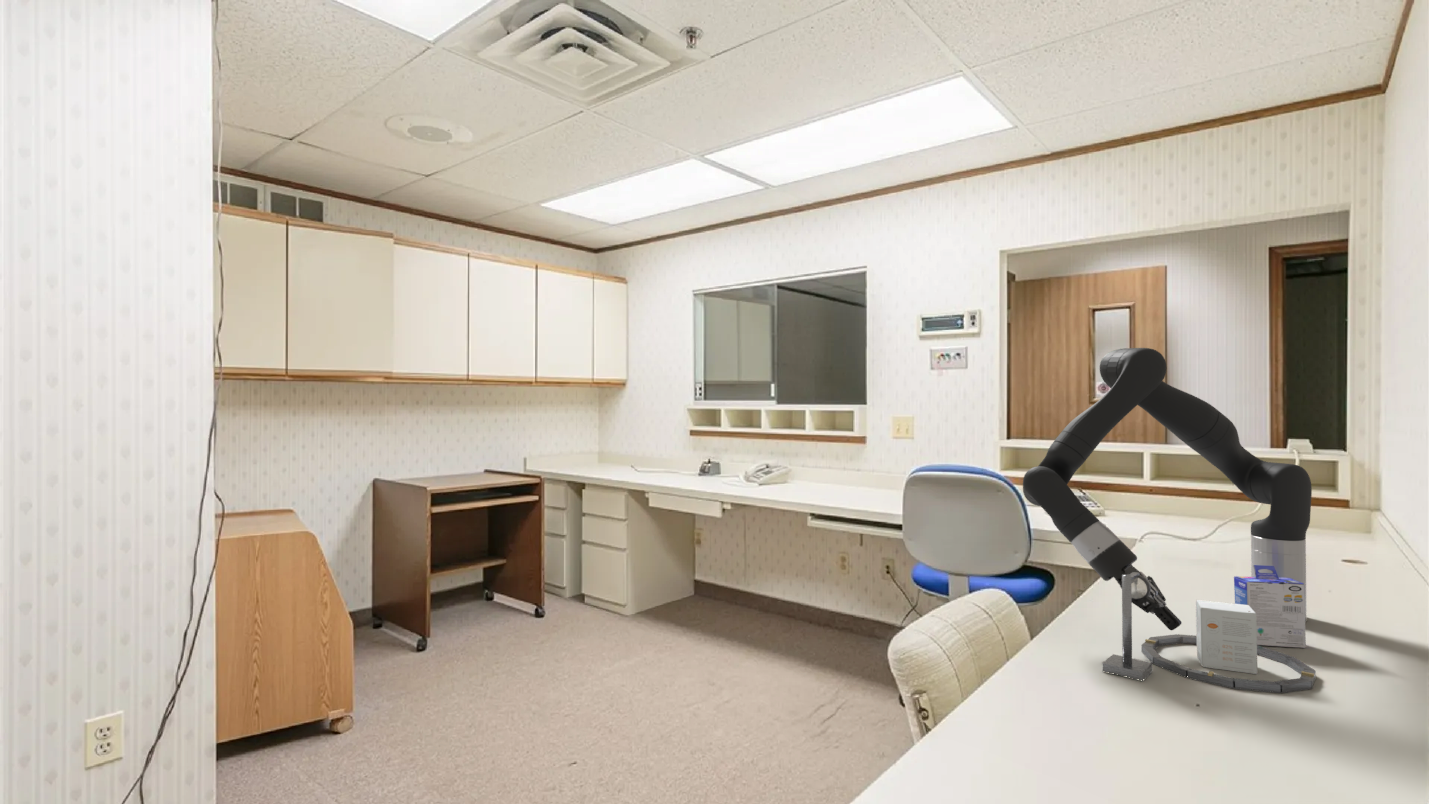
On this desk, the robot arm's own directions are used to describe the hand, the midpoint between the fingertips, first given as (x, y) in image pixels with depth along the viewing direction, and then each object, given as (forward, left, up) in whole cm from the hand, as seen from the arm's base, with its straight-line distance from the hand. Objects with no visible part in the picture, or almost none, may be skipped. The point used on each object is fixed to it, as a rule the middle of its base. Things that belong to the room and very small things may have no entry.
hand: (1176, 627), depth 127 cm
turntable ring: (0, +7, -5) cm, 9 cm away
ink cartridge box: (-20, +11, -5) cm, 24 cm away
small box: (0, +7, -5) cm, 9 cm away
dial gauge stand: (+14, -4, -5) cm, 16 cm away
